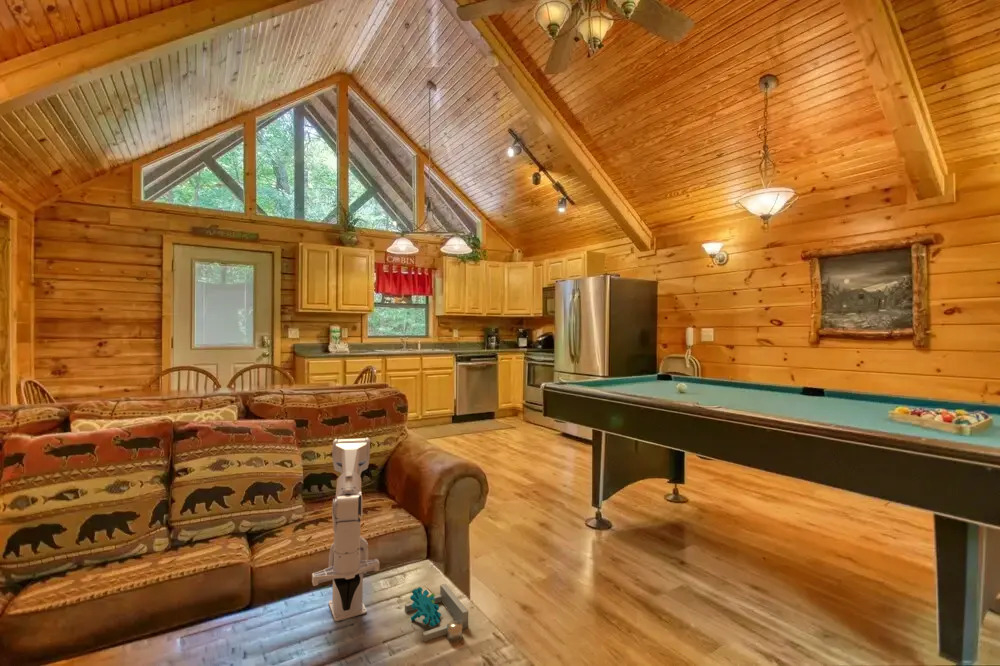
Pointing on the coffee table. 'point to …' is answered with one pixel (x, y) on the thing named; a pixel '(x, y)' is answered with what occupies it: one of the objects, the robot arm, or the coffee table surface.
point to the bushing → (454, 631)
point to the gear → (425, 607)
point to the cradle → (452, 605)
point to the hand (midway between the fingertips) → (346, 608)
